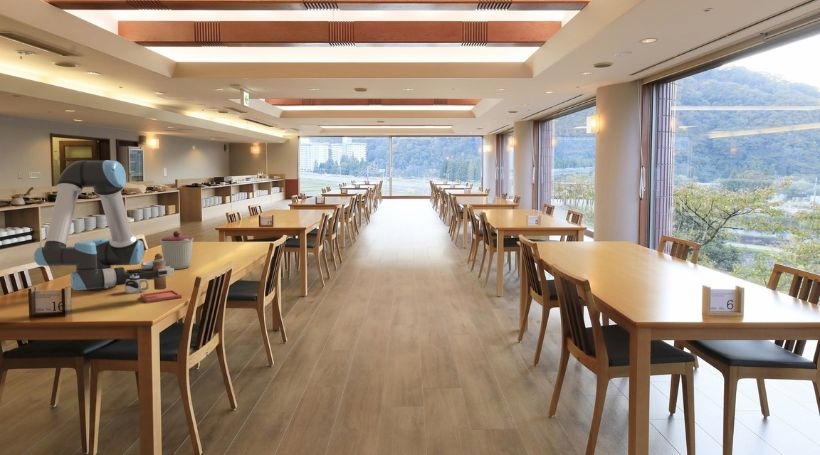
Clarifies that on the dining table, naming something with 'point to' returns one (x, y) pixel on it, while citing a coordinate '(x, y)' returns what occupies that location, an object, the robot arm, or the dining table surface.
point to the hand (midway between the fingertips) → (171, 270)
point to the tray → (160, 296)
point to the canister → (177, 250)
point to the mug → (135, 286)
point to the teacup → (147, 264)
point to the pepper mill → (158, 265)
